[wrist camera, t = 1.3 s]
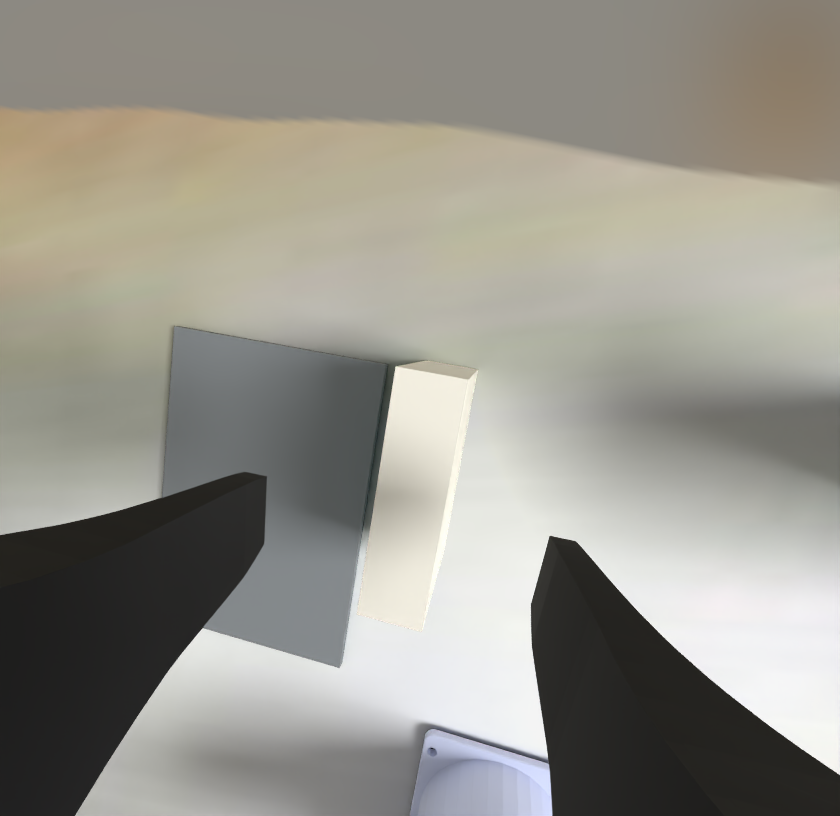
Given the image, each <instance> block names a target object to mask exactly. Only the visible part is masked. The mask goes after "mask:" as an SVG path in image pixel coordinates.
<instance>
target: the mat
mask: <svg viewBox="0 0 840 816" xmlns="http://www.w3.org/2000/svg"><path fill="white" fill-rule="evenodd" d="M387 367H388V364H383V363H378V362H372V361H367V360H361V359H356V358H350V357H345V356H339V355H334V354H328V353H323V352H317V351H312V350H306V349H301V348H295V347H290V346H284V345H279V344H273V343H268V342H262V341H257V340H251V339H246V338H240V337H235V336H229V335H224V334H218V333H213V332H207V331H202V330H196V329H191V328H185V327H179V326H174V337H173V351H172V365H171V379H170V393H169V407H168V421H167V435H166V449H165V463H164V476H163V490H162V498H163V497H166V496H169V495H172V494H175V493H178V492H181V491H184V490H187V489H190V488H193V487H196V486H199V485H202V484H205V483H208V482H211V481H214V480H217V479H220V478H223V477H226V476H230V475H233V474H237V473H241V472H249V473H254V474H258V475H263V476H267V489H266V515H265V540H264V545H263V547H262V549H261V551H260V552H259V554H258V556H257V557H256V559H255V561H254V562H253V564H252V565H251V567H250V569H249V570H248V572H247V573H246V575H245V576H244V578H243V579H242V580H241V582H240V583H239V584H238V585H237V587H236V588H235V589H234V590H233V591H232V593H231V594H230V595H229V596H228V598H227V599H226V600H225V601H224V603H223V604H222V605H221V606H220V607H219V609H218V610H217V611H216V612H215V613H214V615H213V616H212V617H211V618H210V619H209V621H208V622H207V623H206V624H205V626H204V627H203V628H205V629H208V630H212V631H215V632H218V633H222V634H225V635H229V636H232V637H235V638H239V639H242V640H246V641H249V642H253V643H256V644H259V645H263V646H266V647H270V648H273V649H276V650H280V651H283V652H287V653H290V654H294V655H297V656H300V657H304V658H307V659H311V660H314V661H317V662H321V663H324V664H328V665H331V666H334V667H338V668H340V666H341V664H342V660H343V653H344V647H345V640H346V634H347V627H348V621H349V614H350V608H351V601H352V595H353V588H354V582H355V575H356V569H357V562H358V556H359V549H360V543H361V536H362V530H363V523H364V517H365V510H366V504H367V497H368V491H369V484H370V478H371V471H372V465H373V458H374V451H375V445H376V438H377V432H378V425H379V419H380V412H381V406H382V399H383V393H384V386H385V380H386V373H387Z"/></svg>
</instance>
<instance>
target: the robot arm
mask: <svg viewBox="0 0 840 816" xmlns="http://www.w3.org/2000/svg"><path fill="white" fill-rule="evenodd" d="M266 489H267V476H263V475H258V474H254V473H249V472H241V473H237V474H233V475H230V476H226V477H223V478H220V479H217V480H214V481H211V482H208V483H205V484H202V485H199V486H196V487H193V488H190V489H187V490H184V491H181V492H178V493H175V494H172V495H169V496H166V497H163V498H160V499H156V500H153V501H150V502H147V503H143V504H140V505H137V506H133V507H130V508H127V509H123V510H120V511H116V512H112V513H109V514H105V515H101V516H97V517H93V518H88V519H84V520H79V521H75V522H71V523H66V524H61V525H56V526H51V527H45V528H39V529H33V530H28V531H22V532H16V533H10V534H4V535H0V816H75V815H76V813H77V811H78V810H79V808H80V806H81V805H82V803H83V802H84V800H85V798H86V797H87V795H88V793H89V792H90V790H91V788H92V787H93V785H94V784H95V782H96V780H97V779H98V777H99V775H100V774H101V772H102V771H103V769H104V767H105V766H106V764H107V762H108V761H109V759H110V758H111V756H112V755H113V753H114V752H115V750H116V748H117V747H118V745H119V744H120V742H121V741H122V739H123V738H124V736H125V735H126V733H127V731H128V730H129V728H130V727H131V725H132V724H133V722H134V721H135V719H136V718H137V716H138V714H139V713H140V711H141V710H142V709H143V707H144V706H145V704H146V703H147V701H148V700H149V698H150V697H151V695H152V694H153V692H154V691H155V689H156V688H157V687H158V685H159V684H160V682H161V681H162V679H163V678H164V676H165V675H166V673H167V672H168V670H169V669H170V668H171V667H172V665H173V664H174V663H175V661H176V660H177V659H178V657H179V656H180V655H181V653H182V652H183V651H184V650H185V649H186V647H187V646H188V645H189V644H190V642H191V641H192V640H193V639H194V638H195V636H196V635H197V634H198V633H199V632H200V630H201V629H202V628H203V627H204V626H205V624H206V623H207V622H208V621H209V619H210V618H211V617H212V616H213V615H214V613H215V612H216V611H217V610H218V609H219V607H220V606H221V605H222V604H223V603H224V601H225V600H226V599H227V598H228V596H229V595H230V594H231V593H232V591H233V590H234V589H235V588H236V587H237V585H238V584H239V583H240V582H241V580H242V579H243V578H244V576H245V575H246V573H247V572H248V570H249V569H250V567H251V565H252V564H253V562H254V561H255V559H256V557H257V556H258V554H259V552H260V551H261V549H262V547H263V545H264V540H265V515H266ZM531 632H532V650H533V657H534V664H535V671H536V678H537V684H538V691H539V697H540V704H541V711H542V717H543V724H544V730H545V737H546V744H547V751H548V760H549V764H548V763H544V762H541V761H538V760H535V759H531V758H528V757H525V756H521V755H518V754H515V753H512V752H508V751H505V750H502V749H498V748H495V747H492V746H489V745H485V744H482V743H479V742H476V741H472V740H469V739H466V738H462V737H459V736H456V735H453V734H449V733H446V732H443V731H439V730H436V729H431V730H428V731H427V732H426V734H425V738H424V744H423V749H422V754H421V759H420V764H419V769H418V774H417V779H416V785H415V790H414V795H413V800H412V805H411V810H410V815H409V816H840V775H839V774H837V773H836V772H834V771H833V770H831V769H830V768H828V767H827V766H825V765H824V764H823V763H821V762H820V761H818V760H817V759H815V758H814V757H812V756H811V755H809V754H808V753H806V752H805V751H804V750H802V749H801V748H799V747H798V746H796V745H795V744H794V743H792V742H791V741H789V740H788V739H787V738H785V737H784V736H782V735H781V734H780V733H778V732H777V731H776V730H774V729H773V728H771V727H770V726H769V725H767V724H766V723H765V722H763V721H762V720H761V719H760V718H758V717H757V716H756V715H754V714H753V713H752V712H750V711H749V710H748V709H747V708H745V707H744V706H743V705H741V704H740V703H739V702H738V701H736V700H735V699H734V698H732V697H731V696H730V695H729V694H727V693H726V692H725V691H724V690H722V689H721V688H720V687H719V686H718V685H716V684H715V683H714V682H713V681H711V680H710V679H709V678H708V677H707V676H706V675H705V674H703V673H702V672H701V671H700V670H699V669H698V668H697V667H695V666H694V665H693V664H692V663H691V662H690V661H689V660H688V659H686V658H685V657H684V656H683V655H682V654H681V653H680V652H678V651H677V650H676V649H675V648H674V647H673V646H672V645H671V644H670V643H669V642H668V641H667V640H666V639H665V638H664V637H663V636H662V635H661V634H660V633H659V632H658V631H657V630H656V629H655V628H654V627H653V626H652V625H651V624H650V623H649V622H648V621H647V620H646V619H645V618H644V617H643V616H642V615H641V614H640V613H639V612H638V611H637V610H636V609H635V608H634V607H633V606H632V605H631V604H630V602H629V601H628V600H627V599H626V598H625V597H624V596H623V595H622V594H621V592H620V591H619V590H618V589H617V588H616V587H615V586H614V585H613V583H612V582H611V581H610V580H609V579H608V578H607V577H606V575H605V574H604V573H603V572H602V571H601V570H600V568H599V567H598V566H597V565H596V564H595V562H594V561H593V560H592V559H591V558H590V557H589V555H588V554H587V553H586V552H585V551H584V550H583V549H582V547H581V546H580V545H579V544H578V543H577V542H576V541H572V540H567V539H562V538H558V537H553V536H550V537H549V541H548V544H547V548H546V552H545V555H544V559H543V563H542V566H541V570H540V574H539V577H538V581H537V585H536V588H535V592H534V596H533V599H532V603H531ZM430 747H432V748H434V749H435V750H432V749H430Z"/></svg>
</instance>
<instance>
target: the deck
mask: <svg viewBox="0 0 840 816" xmlns="http://www.w3.org/2000/svg"><path fill="white" fill-rule="evenodd" d="M477 373H478V369H473V368H467V367H462V366H456V365H450V364H445V363H439V362H433V361H428V360H426V361H421V362H416V363H411V364H405V365H400V366H396V367H395V373H394V380H393V386H392V393H391V399H390V405H389V412H388V418H387V424H386V431H385V437H384V444H383V450H382V456H381V463H380V469H379V476H378V482H377V488H376V495H375V501H374V507H373V514H372V520H371V527H370V533H369V539H368V546H367V552H366V559H365V565H364V571H363V578H362V584H361V590H360V597H359V603H358V610H357V615H360V616H364V617H368V618H371V619H375V620H379V621H382V622H386V623H390V624H393V625H397V626H401V627H404V628H408V629H412V630H415V631H419V632H422V630H423V626H424V622H425V619H426V615H427V611H428V608H429V604H430V600H431V597H432V593H433V590H434V586H435V582H436V579H437V575H438V571H439V568H440V564H441V561H442V557H443V553H444V549H445V544H446V538H447V533H448V528H449V522H450V517H451V512H452V507H453V501H454V496H455V491H456V485H457V480H458V475H459V469H460V464H461V459H462V453H463V448H464V443H465V437H466V432H467V427H468V421H469V416H470V411H471V405H472V400H473V395H474V389H475V384H476V379H477Z"/></svg>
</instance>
